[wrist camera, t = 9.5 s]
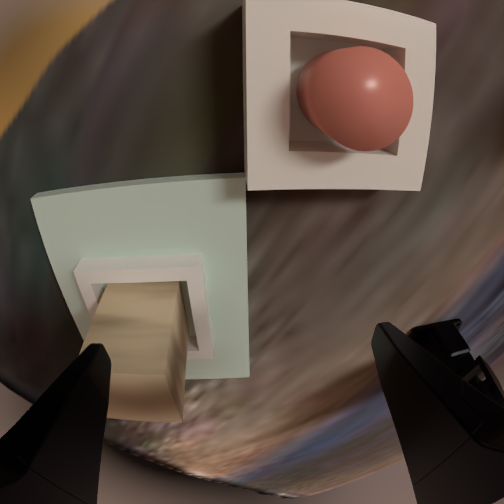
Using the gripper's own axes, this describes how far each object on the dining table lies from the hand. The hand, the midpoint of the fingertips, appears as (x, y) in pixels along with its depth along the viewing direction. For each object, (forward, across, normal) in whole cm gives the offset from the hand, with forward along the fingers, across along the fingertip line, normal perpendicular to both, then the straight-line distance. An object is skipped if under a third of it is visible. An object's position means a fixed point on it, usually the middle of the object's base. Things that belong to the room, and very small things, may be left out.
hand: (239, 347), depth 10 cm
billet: (+10, +6, +7) cm, 14 cm away
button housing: (+11, -6, -7) cm, 15 cm away
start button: (+10, -6, -7) cm, 13 cm away
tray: (+11, +6, +7) cm, 15 cm away
